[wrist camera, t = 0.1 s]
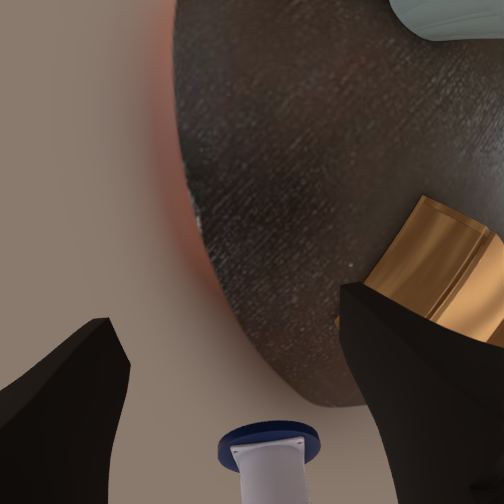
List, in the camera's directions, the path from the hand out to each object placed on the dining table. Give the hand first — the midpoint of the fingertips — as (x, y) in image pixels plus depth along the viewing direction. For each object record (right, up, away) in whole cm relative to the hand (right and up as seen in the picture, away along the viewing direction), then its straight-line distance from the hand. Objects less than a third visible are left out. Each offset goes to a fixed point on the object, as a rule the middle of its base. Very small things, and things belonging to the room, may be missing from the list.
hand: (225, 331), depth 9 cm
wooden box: (+15, -1, +12) cm, 19 cm away
